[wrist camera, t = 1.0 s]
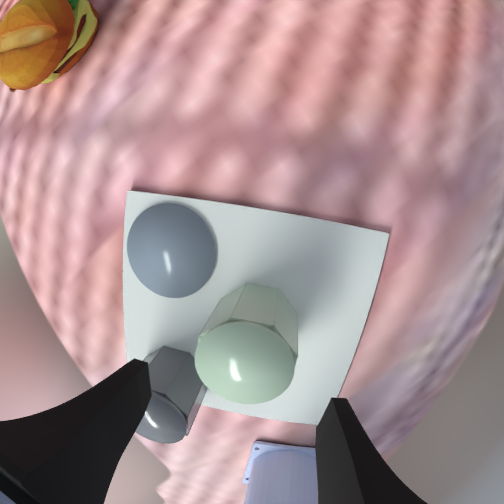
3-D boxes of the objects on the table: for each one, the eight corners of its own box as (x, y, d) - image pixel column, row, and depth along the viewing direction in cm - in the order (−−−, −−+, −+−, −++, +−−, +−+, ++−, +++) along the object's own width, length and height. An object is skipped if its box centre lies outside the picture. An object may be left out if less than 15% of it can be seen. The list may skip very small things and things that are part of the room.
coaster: (210, 305, 21) (209, 307, 21) (128, 285, 22) (126, 287, 21) (221, 210, 19) (220, 210, 19) (131, 197, 20) (129, 198, 20)
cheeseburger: (100, -17, 16) (46, -47, 7) (126, 53, 20) (65, 32, 11) (31, 38, 18) (-29, 32, 9) (52, 107, 22) (-16, 116, 13)
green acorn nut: (286, 358, 21) (283, 411, 16) (214, 344, 22) (192, 392, 16) (302, 292, 20) (305, 335, 14) (222, 277, 20) (197, 313, 15)
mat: (323, 422, 23) (324, 425, 23) (131, 379, 25) (128, 382, 24) (387, 232, 19) (389, 233, 18) (130, 190, 20) (127, 190, 20)
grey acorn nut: (205, 404, 24) (186, 451, 18) (148, 387, 24) (120, 428, 18) (209, 357, 22) (186, 405, 16) (146, 340, 23) (111, 379, 17)
